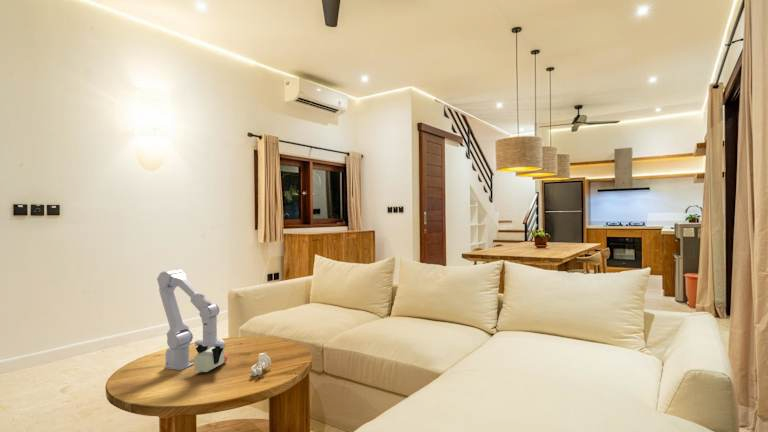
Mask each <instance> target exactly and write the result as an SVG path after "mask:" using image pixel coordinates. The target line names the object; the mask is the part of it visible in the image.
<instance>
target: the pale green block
mask: <svg viewBox="0 0 768 432" xmlns="http://www.w3.org/2000/svg"><path fill="white" fill-rule="evenodd" d="M213 348H215V347H212V348H210V349H207V350H206V351H203V352H201V353H197V354H195V355H194V371H195V372H201V373H207V372H210V371H211V370H214V369H216V367H219V366H221V365H222V363H223V364H225V363H224V354H225V348H224V349H223V350H222V352H221V355H220V358H219V363H217V364H214V356H213V352H212V349H213Z"/></svg>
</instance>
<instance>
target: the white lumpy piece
mask: <svg viewBox="0 0 768 432" xmlns="http://www.w3.org/2000/svg"><path fill="white" fill-rule="evenodd" d="M269 365H270V366H272V360H271V357H269V356H268V354H267V351H266V352H262V353H258V358H257V363H255V364H254V365H252V366H251V369H250V374H251V376H252V377H257V375H258V376H261V375H262V374H263V371H262V370H263V369H267V368H268V367H269Z"/></svg>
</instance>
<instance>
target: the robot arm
mask: <svg viewBox="0 0 768 432" xmlns="http://www.w3.org/2000/svg"><path fill="white" fill-rule="evenodd" d="M156 280H157V283H158V287H159V288H158V289H159V290H158V291H159V295H160V299H161V302H162V306H163V308H164V312H165V315H166V319H167V322H168V325H169V329H168V331H167V333H166V337H167V338H166V343H167V346H168V347H167V349H166V351H165V366H164V369H166V370H167V369H169V370H177V371H182V370H185V369H186V368H188V367H190V366H192V365H195V362H190V345H191V342H192V341H193V339H194V336H193V332H192V331H191V330H190V327H189V325H187V324H185V323H184V322H183V318H182V316H181V311H180V308H179V305H178V301H177V299H176V296H175V290H176V288H177V287H179V288H180V289H181V290H182V291H183V292H184V293H186V295H187V296H188V297H189V298H190V302H191V304H193V306H194V307H195V308H196V309H197V310H198V311H199V313H198V314H199V317H200V318H201V322H202V339H198V340H195V341H194V346H196V347H195V350H196V352H197V354H199V353H201V352H203V351H206V350H208V349H207V348H208V346H210V347H215V348H213V349H212V352H213V356H214V364H217V363H219V358H220V355H221V352H222V350H223V349H224V350H225V348H226V342H225V341H224V342H225V343H224V342H220V341H217V335H218V332H217V331H218V328H217V327H218V325H217V324H218V321H217V320H218V319H217V318H218V317H217V316H218V315H220V308H219V306H218V304H217V303H213V302H211V300H209V299H208V298H207V296H205V294H204V292H198V291H197V290H196V289H195V287H194V286H193V285H192V284H191V282H190V281H189V280H188V279H187V275H186V273H185V272H184V271H183V269H180V268H176V269H171V270H165V271H164V270H163V271H161V272H160V273H159V275H158V276H157V278H156Z"/></svg>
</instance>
